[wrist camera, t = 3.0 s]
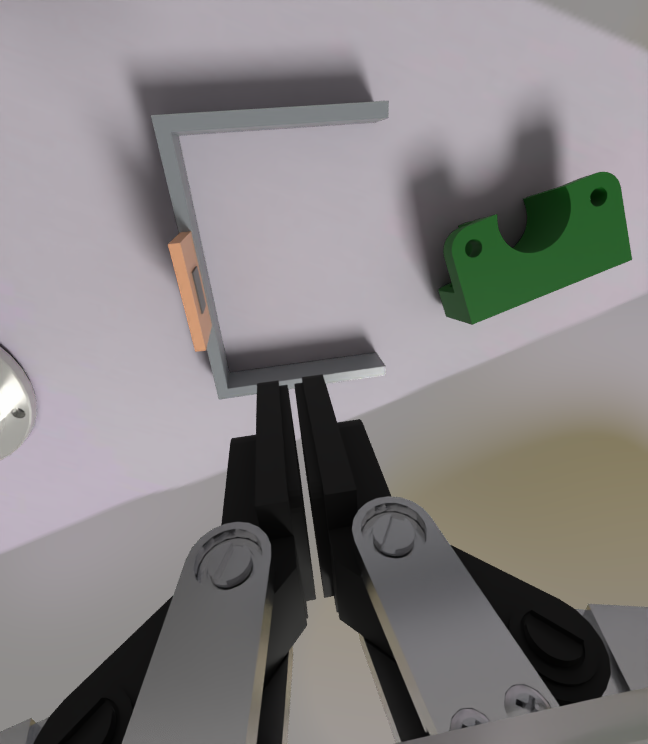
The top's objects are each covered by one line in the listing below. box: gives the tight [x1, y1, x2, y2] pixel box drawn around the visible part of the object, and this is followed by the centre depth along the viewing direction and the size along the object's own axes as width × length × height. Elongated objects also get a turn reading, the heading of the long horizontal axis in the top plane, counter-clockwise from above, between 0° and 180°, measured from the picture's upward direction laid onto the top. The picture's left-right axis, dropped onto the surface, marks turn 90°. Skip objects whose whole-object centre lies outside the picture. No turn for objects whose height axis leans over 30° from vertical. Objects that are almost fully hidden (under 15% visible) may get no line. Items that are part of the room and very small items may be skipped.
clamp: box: [438, 172, 632, 324], centre depth 27 cm, size 12×6×9 cm, turn 106°
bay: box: [151, 101, 389, 399], centre depth 24 cm, size 13×18×6 cm
